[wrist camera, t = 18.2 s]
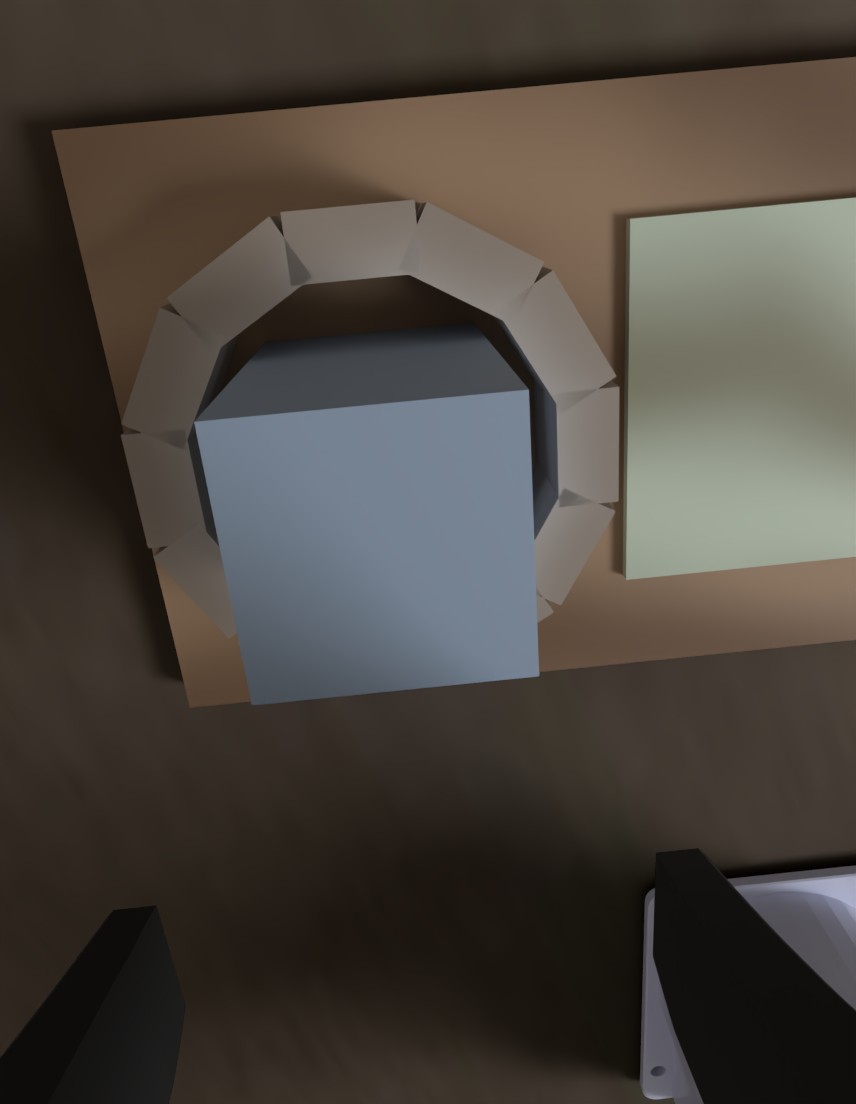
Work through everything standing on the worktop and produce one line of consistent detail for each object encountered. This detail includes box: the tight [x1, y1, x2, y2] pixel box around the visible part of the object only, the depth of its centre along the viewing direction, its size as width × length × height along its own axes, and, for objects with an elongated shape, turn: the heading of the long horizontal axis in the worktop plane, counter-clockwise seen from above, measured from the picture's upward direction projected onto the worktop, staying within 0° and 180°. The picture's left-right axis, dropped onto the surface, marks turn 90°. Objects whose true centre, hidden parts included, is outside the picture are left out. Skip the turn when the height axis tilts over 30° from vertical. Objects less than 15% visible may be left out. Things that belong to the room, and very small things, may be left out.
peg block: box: [194, 322, 539, 705], centre depth 15 cm, size 4×4×7 cm
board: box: [52, 57, 856, 708], centre depth 17 cm, size 13×20×4 cm, turn 95°
